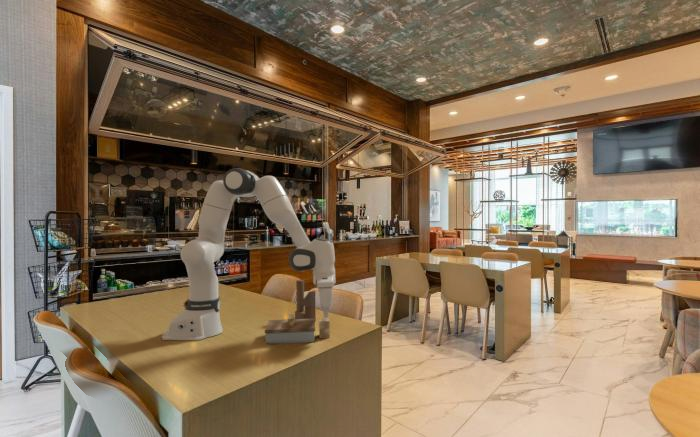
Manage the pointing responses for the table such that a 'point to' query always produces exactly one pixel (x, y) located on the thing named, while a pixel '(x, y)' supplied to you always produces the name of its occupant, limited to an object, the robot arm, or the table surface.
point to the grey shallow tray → (289, 337)
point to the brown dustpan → (304, 302)
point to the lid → (290, 325)
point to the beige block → (324, 328)
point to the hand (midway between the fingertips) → (325, 313)
